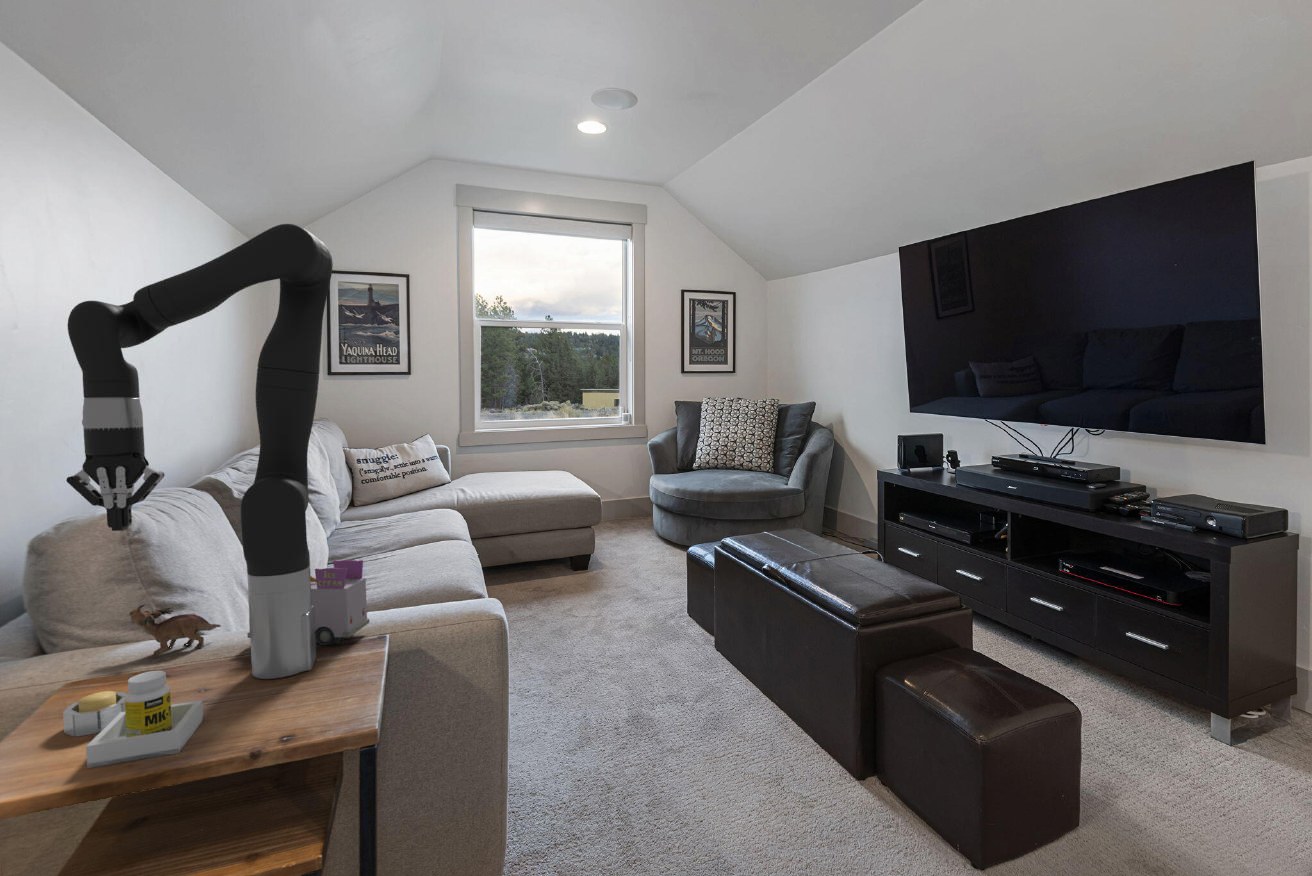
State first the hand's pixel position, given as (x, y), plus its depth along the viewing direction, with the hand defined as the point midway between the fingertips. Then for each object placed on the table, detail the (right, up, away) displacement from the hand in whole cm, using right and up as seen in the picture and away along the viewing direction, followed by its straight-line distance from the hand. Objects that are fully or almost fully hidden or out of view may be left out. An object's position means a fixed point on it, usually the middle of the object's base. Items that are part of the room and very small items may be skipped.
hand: (119, 529), depth 105 cm
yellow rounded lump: (+9, -25, -15) cm, 30 cm away
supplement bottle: (+21, -25, -20) cm, 39 cm away
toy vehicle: (+22, -24, +18) cm, 37 cm away
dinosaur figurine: (-1, -25, +14) cm, 28 cm away
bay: (+21, -26, -20) cm, 39 cm away
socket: (+9, -26, -15) cm, 31 cm away
